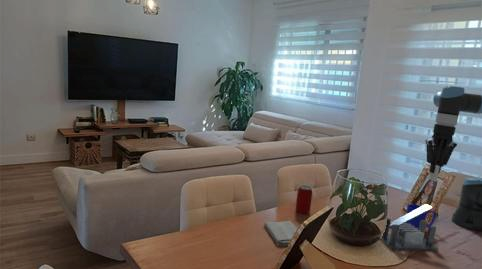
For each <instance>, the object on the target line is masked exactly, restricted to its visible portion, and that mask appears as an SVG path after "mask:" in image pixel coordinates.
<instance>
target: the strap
mask: <svg viewBox="0 0 482 269" xmlns="http://www.w3.org/2000/svg"><path fill="white" fill-rule="evenodd" d="M420 206H421V207H420V208H418V209H416V210H414V211H412V212H410V213H408V214H407V213H406V214H405V215H402V216H400V217H398V218H397V219H395V220H393V221H390V223H387V226H388V227H389V230H392V225H393V224H397V225H399V226H400V225H402V224H406V222H408V221H410V220H412V219H414V218H416V217H418V216H420V215H422V214H423V213H425V212H427V211H429V210H430V211H432V210H433V209H434V208H433V207H432V206H431V205H429V204H427V203H426V204H423V205H420Z"/></svg>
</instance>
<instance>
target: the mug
mask: <svg viewBox="0 0 482 269" xmlns="http://www.w3.org/2000/svg"><path fill="white" fill-rule="evenodd" d="M421 206H422V205H420V204H415V203H409V204H407V205H406V214H408V213H410V212H412V211H414V210H416V209H418V208H420V207H421ZM429 213H432V214H433V217H432V219H431V221H430V223H429V224H426V228H429V226H433V224H434V222H435V219H436V216H437V212H436V211H433V210H429V211H427V212H425V213H423V214H422V215H420V216H418V217H416V218H414V219H412V220H410V221H408V222H406V223H405V224H412V225H411V226H415V227H414V228H418V229H419V224H420V220H426V218H427V215H428V214H429Z"/></svg>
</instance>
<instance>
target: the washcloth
mask: <svg viewBox="0 0 482 269" xmlns="http://www.w3.org/2000/svg"><path fill="white" fill-rule="evenodd" d="M263 226H264V227H265V229H266V231H267V232H268V234H269V235H270V236H271V237H272V239H273V240H274V242H275V244H276V245H277V246H284V247H285V246H288V244H289V242H290V240H291V238H292V237H293V235H294V233H295V232H296V230H297V229H298V227H297V226H296V225H295V224H294V223H293V222H292V221H289V220H286V221H269V222H268V221H266V222H264V224H263Z"/></svg>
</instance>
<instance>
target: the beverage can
mask: <svg viewBox="0 0 482 269" xmlns="http://www.w3.org/2000/svg"><path fill="white" fill-rule="evenodd" d="M296 194H297V196H296V204H295V211H296V212H298V213H300V214H308V213H310V212H311V206H312V199H313V190H312V187H311V186H308V185H300V186H299V188H298V190H297V193H296Z"/></svg>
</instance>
